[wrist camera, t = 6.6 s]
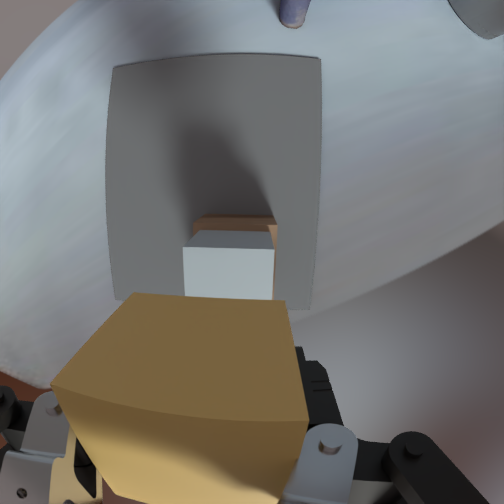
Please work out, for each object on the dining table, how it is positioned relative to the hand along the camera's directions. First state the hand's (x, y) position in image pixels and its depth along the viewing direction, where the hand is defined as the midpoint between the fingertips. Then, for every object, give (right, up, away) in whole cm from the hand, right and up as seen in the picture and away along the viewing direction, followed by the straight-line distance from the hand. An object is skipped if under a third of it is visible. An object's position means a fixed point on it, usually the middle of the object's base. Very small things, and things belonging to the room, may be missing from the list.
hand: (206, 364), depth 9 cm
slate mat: (-2, +10, +15) cm, 19 cm away
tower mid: (0, +3, +12) cm, 12 cm away
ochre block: (0, 0, 0) cm, 0 cm away
